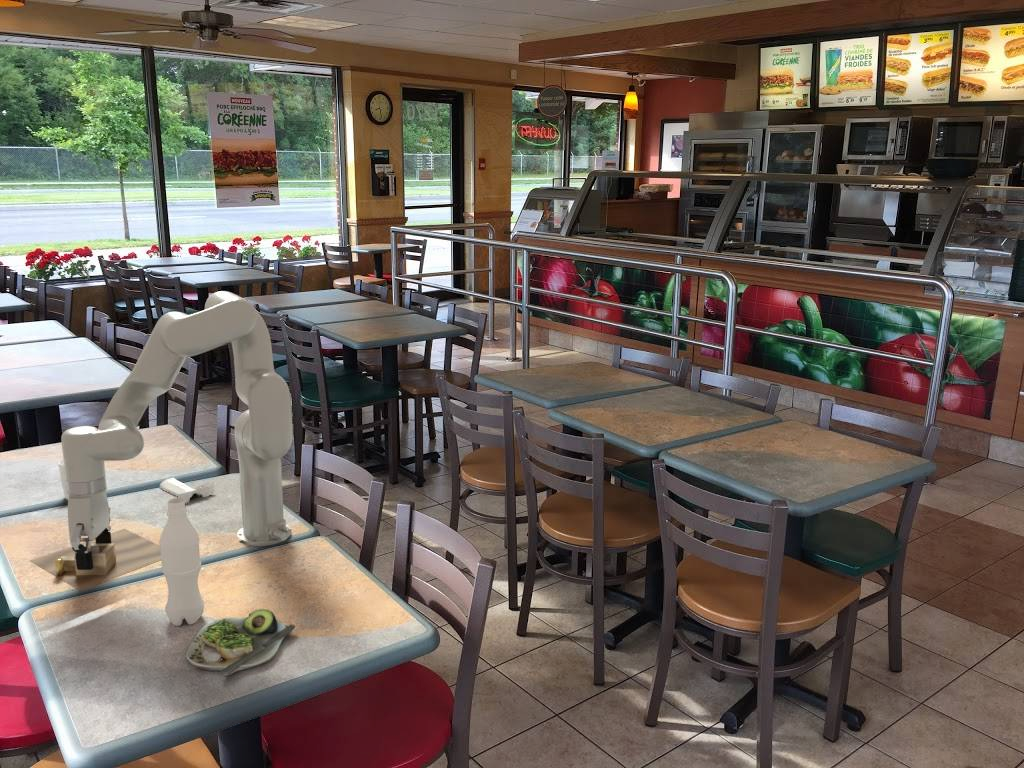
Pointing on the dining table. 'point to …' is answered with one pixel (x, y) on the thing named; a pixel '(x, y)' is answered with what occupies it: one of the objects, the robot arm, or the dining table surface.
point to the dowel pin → (59, 567)
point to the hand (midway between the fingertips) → (95, 558)
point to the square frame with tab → (94, 561)
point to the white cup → (63, 478)
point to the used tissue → (185, 489)
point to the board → (128, 558)
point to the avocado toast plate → (239, 641)
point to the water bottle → (181, 565)
